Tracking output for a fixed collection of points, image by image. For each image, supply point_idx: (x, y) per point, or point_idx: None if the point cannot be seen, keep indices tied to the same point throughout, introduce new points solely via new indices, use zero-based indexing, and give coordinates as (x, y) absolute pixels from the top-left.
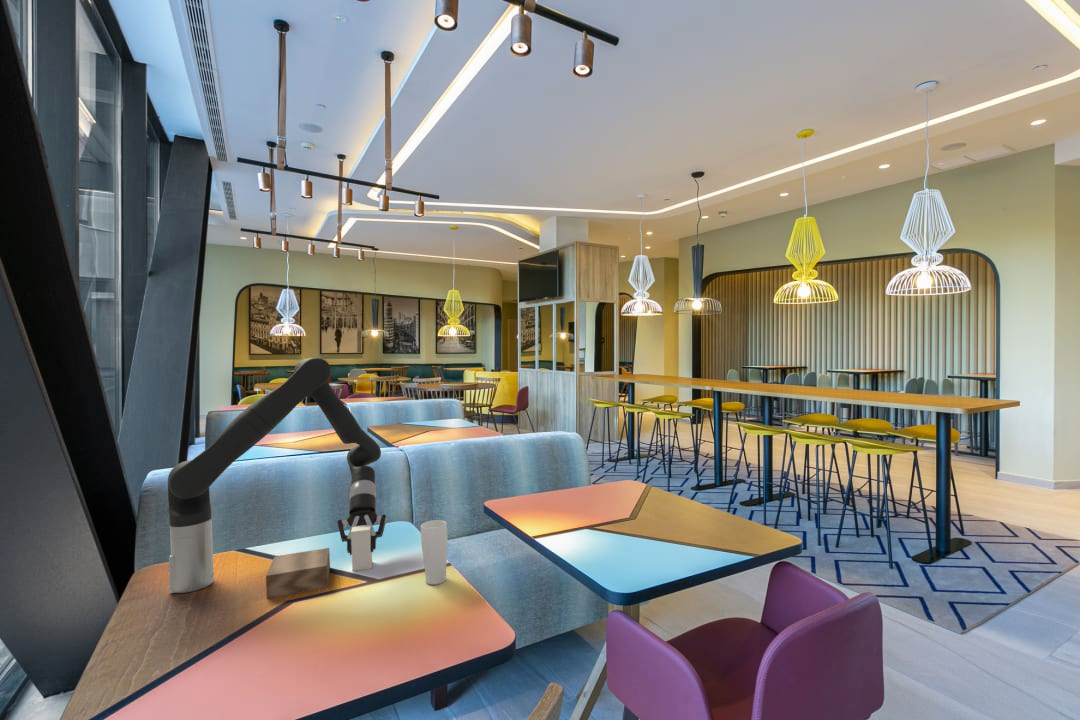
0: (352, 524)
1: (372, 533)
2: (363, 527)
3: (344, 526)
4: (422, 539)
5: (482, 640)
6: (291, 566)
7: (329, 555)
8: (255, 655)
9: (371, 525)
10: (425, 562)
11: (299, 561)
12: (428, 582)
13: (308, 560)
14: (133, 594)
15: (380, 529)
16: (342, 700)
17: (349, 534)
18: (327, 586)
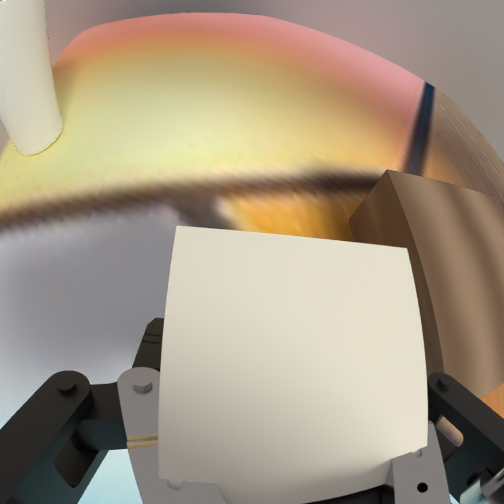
0: (442, 473)
1: (151, 390)
2: (277, 383)
3: (479, 476)
4: (45, 16)
5: (103, 29)
6: (486, 230)
7: None
8: (363, 73)
9: (145, 466)
10: (52, 76)
11: (489, 267)
12: (62, 120)
13: (471, 261)
14: None
15: (53, 402)
16: (246, 14)
17: None
18: (350, 218)
